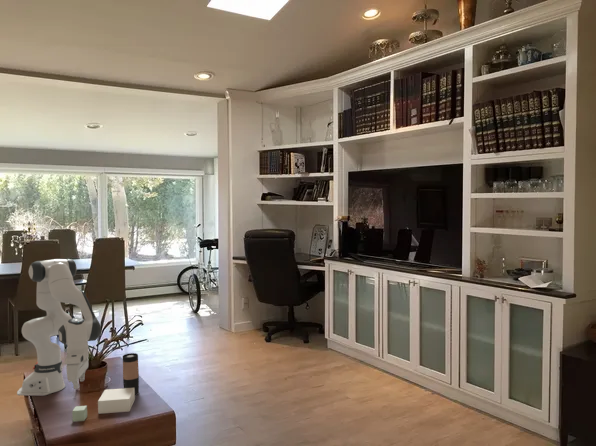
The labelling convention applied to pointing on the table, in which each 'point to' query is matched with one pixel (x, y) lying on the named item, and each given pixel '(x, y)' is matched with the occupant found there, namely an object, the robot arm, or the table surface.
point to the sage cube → (79, 413)
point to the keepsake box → (116, 400)
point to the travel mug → (131, 371)
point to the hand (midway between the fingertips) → (79, 384)
